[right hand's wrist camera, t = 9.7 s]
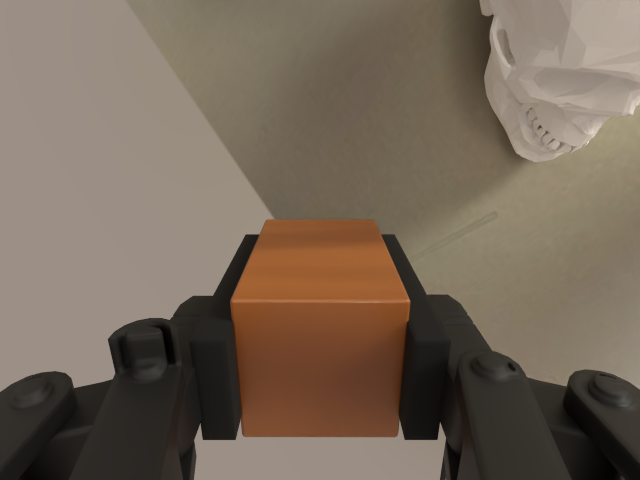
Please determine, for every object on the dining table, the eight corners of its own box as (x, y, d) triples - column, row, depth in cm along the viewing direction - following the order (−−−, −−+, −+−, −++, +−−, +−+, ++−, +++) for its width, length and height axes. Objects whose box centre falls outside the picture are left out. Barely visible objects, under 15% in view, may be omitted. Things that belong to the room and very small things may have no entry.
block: (265, 218, 14) (228, 299, 8) (375, 218, 14) (412, 300, 8) (270, 314, 15) (241, 438, 10) (370, 314, 15) (398, 439, 10)
